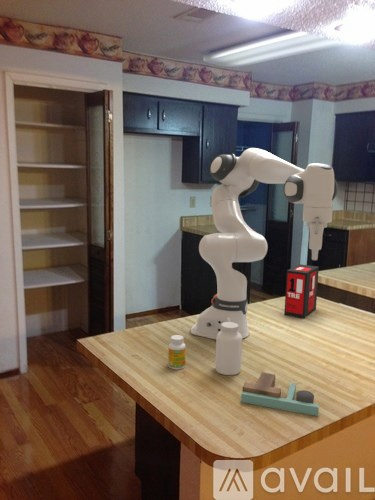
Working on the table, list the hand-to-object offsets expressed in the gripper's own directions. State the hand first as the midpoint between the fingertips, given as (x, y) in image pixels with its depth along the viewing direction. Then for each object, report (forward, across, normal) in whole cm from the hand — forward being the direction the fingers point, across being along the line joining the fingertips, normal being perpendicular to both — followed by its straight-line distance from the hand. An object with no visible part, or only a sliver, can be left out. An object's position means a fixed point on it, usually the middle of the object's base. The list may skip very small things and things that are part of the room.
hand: (314, 259), depth 140 cm
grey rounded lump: (+34, -31, 0) cm, 46 cm away
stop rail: (+34, -29, +6) cm, 45 cm away
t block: (+34, -27, +11) cm, 45 cm away
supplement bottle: (+34, -18, +40) cm, 56 cm away
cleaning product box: (+34, +53, +5) cm, 64 cm away
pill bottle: (+34, -16, +24) cm, 45 cm away
